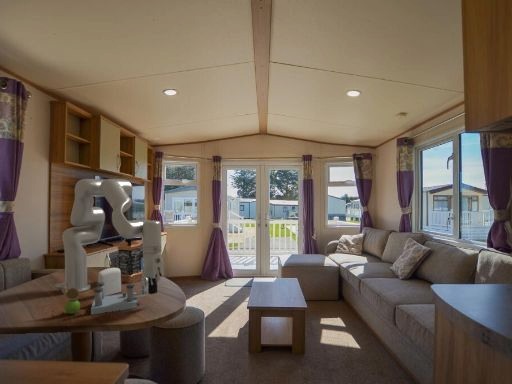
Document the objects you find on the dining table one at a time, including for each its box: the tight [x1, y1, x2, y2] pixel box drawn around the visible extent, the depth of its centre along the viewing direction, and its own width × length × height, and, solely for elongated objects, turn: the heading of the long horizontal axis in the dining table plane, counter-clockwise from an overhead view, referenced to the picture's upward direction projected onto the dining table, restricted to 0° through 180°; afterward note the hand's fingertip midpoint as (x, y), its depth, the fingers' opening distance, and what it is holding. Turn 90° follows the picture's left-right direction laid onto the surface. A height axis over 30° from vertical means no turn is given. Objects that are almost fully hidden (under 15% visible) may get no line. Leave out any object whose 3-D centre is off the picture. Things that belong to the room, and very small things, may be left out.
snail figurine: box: [62, 284, 81, 315], centre depth 122 cm, size 5×6×12 cm
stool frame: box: [90, 282, 138, 316], centre depth 130 cm, size 17×14×9 cm
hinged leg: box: [134, 276, 149, 299], centre depth 132 cm, size 8×3×8 cm, turn 113°
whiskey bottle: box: [117, 238, 143, 284], centre depth 169 cm, size 10×10×32 cm
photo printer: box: [97, 267, 122, 296], centre depth 145 cm, size 10×4×12 cm, turn 140°
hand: (152, 293), depth 128 cm, fingers closed
